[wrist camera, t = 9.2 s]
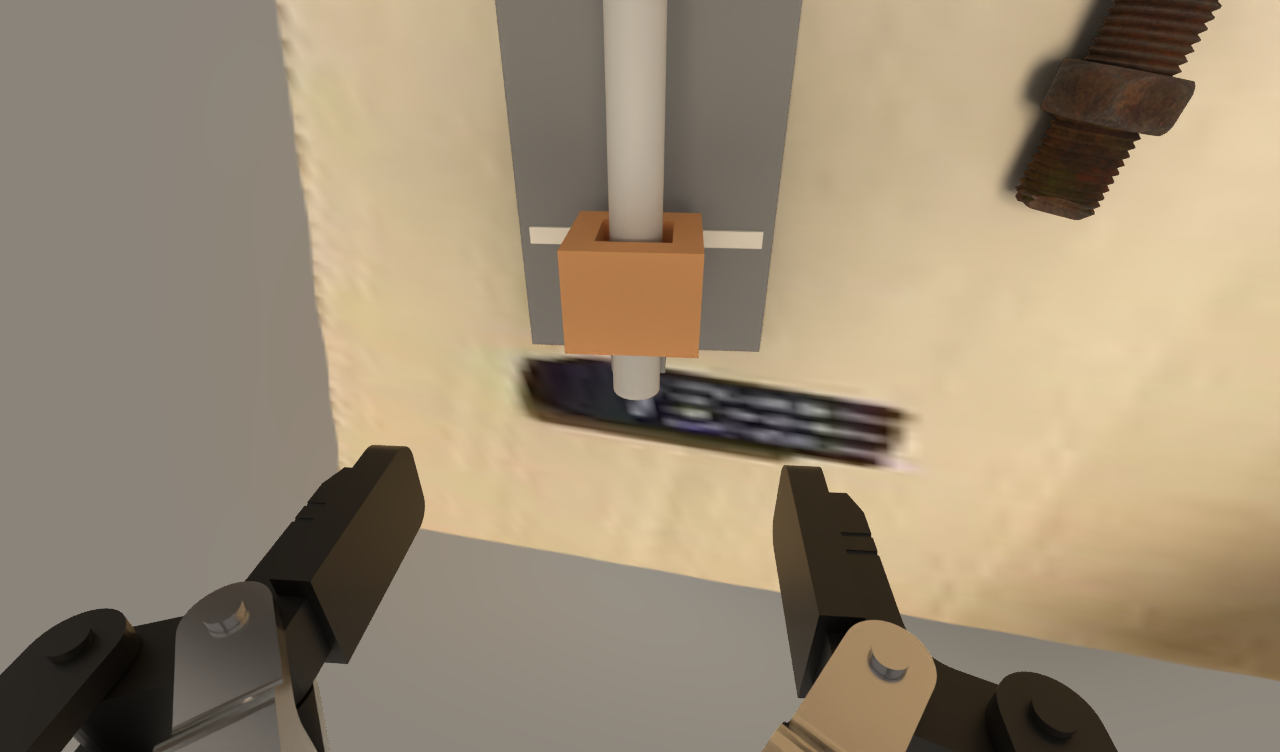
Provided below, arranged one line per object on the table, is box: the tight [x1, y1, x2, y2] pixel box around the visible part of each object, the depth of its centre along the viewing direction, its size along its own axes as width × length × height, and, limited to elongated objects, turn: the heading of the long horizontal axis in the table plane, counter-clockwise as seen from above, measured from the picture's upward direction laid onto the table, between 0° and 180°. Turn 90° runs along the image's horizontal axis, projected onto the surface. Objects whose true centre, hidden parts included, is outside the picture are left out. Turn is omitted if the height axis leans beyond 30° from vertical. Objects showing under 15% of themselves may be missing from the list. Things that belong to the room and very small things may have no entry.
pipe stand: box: [495, 0, 802, 400], centre depth 23 cm, size 22×12×8 cm, turn 0°
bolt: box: [1015, 0, 1222, 220], centre depth 21 cm, size 6×5×15 cm
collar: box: [557, 211, 704, 358], centre depth 23 cm, size 4×5×5 cm
